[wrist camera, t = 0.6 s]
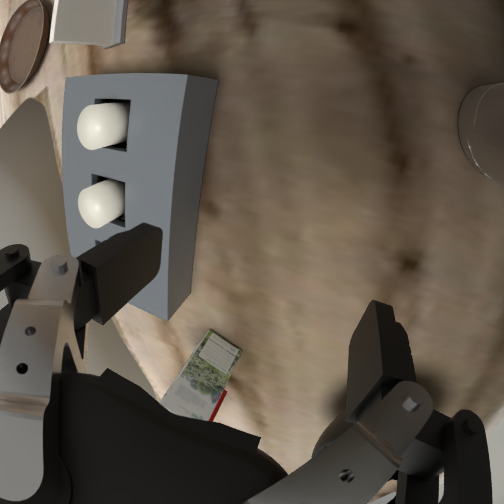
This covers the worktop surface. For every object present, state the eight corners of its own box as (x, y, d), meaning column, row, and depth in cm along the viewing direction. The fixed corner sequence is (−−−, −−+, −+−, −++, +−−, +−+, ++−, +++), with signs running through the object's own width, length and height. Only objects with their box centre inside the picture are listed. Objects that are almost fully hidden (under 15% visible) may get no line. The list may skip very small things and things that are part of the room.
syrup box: (195, 346, 42) (147, 419, 30) (210, 326, 39) (158, 407, 27) (226, 366, 43) (186, 442, 30) (244, 349, 39) (203, 434, 27)
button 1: (113, 100, 24) (78, 104, 20) (144, 102, 24) (108, 105, 20) (110, 138, 27) (76, 147, 22) (139, 143, 26) (105, 152, 22)
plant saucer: (67, 34, 25) (51, 34, 23) (20, 110, 33) (7, 114, 31) (46, -17, 21) (33, -18, 18) (3, 53, 29) (-8, 54, 26)
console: (102, 76, 27) (66, 77, 22) (218, 79, 24) (187, 74, 19) (100, 255, 40) (74, 274, 35) (190, 293, 37) (167, 321, 32)
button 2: (109, 171, 29) (76, 184, 24) (137, 178, 28) (105, 193, 24) (109, 206, 31) (79, 222, 26) (136, 215, 30) (106, 233, 26)
